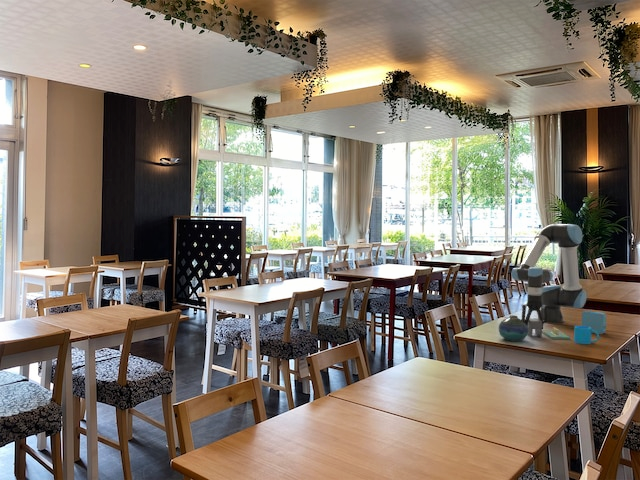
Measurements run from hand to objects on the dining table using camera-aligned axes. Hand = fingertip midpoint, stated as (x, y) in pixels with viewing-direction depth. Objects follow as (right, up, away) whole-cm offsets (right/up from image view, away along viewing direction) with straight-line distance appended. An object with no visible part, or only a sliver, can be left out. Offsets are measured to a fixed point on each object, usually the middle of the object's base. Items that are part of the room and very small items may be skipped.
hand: (533, 334), depth 284 cm
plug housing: (0, 0, 0) cm, 0 cm away
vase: (-16, -1, -11) cm, 20 cm away
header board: (+12, -1, -1) cm, 12 cm away
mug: (+22, -1, -16) cm, 27 cm away
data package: (+39, -1, +9) cm, 40 cm away
